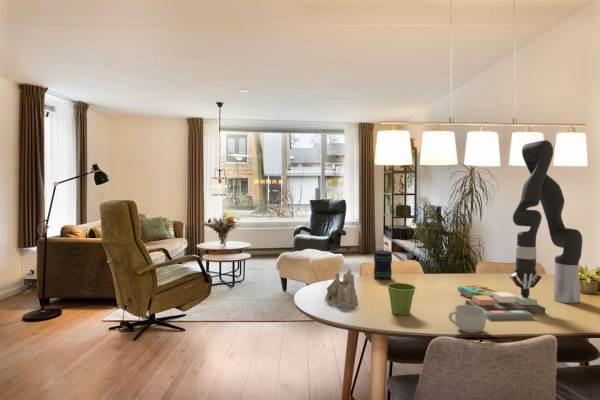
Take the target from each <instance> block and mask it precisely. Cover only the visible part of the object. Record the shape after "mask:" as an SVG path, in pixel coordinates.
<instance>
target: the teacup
mask: <svg viewBox="0 0 600 400" xmlns="http://www.w3.org/2000/svg"><path fill="white" fill-rule="evenodd" d="M486 314H487V312H486V311H485V310H484V309H482V308H480V307H476V306H471V305H465V304H458V305H456V306H455V307H454V310H451V311H450V312H449V313H448V320H449V321H450V322H451V323H452V324H454V325H455V327H458V328H459V330H460V331H462V332H463V333H466V334H468V333H469V334H478V333H480V332H482V331H484V329H485V328H486V322H487V319H486ZM453 315H454V319H453Z"/></svg>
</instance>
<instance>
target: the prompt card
mask: <svg viewBox="0 0 600 400" xmlns="http://www.w3.org/2000/svg"><path fill="white" fill-rule="evenodd" d="M486 312H487V314H486V320H488V321H491V320H492V321H493V320H499V321H500V320H534V314H532V313H530V312H528V311H526V310H512V311H486Z"/></svg>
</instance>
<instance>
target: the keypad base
mask: <svg viewBox="0 0 600 400" xmlns="http://www.w3.org/2000/svg"><path fill="white" fill-rule="evenodd" d="M464 305H471V306H476V307H480V308H482V309H484V310H485V311H512V310H526V311H528V312H530V313H532V314H533V315H545V314H546V307H544V306H542V305H540V304H538V303H537V305H520V304H519V303H517V302H499V301H498V300H495V305H487V306H479V305H478V304H476V303H475V302H473V301H472V299H470V300H469V299H466V300H465V304H464Z"/></svg>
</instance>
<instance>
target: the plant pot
mask: <svg viewBox="0 0 600 400" xmlns="http://www.w3.org/2000/svg"><path fill="white" fill-rule="evenodd" d="M386 287H387V289H388V294H389V302H390V308H391V313H392V314H394V315H399V316H407V315H409V314H410V313H411V308H412V303H413V298H414V294H415V291H416V290H417V287H416V286H415V285H414V284H411V283H410V284H409V283H406V282H391V283H388V284H386Z"/></svg>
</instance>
